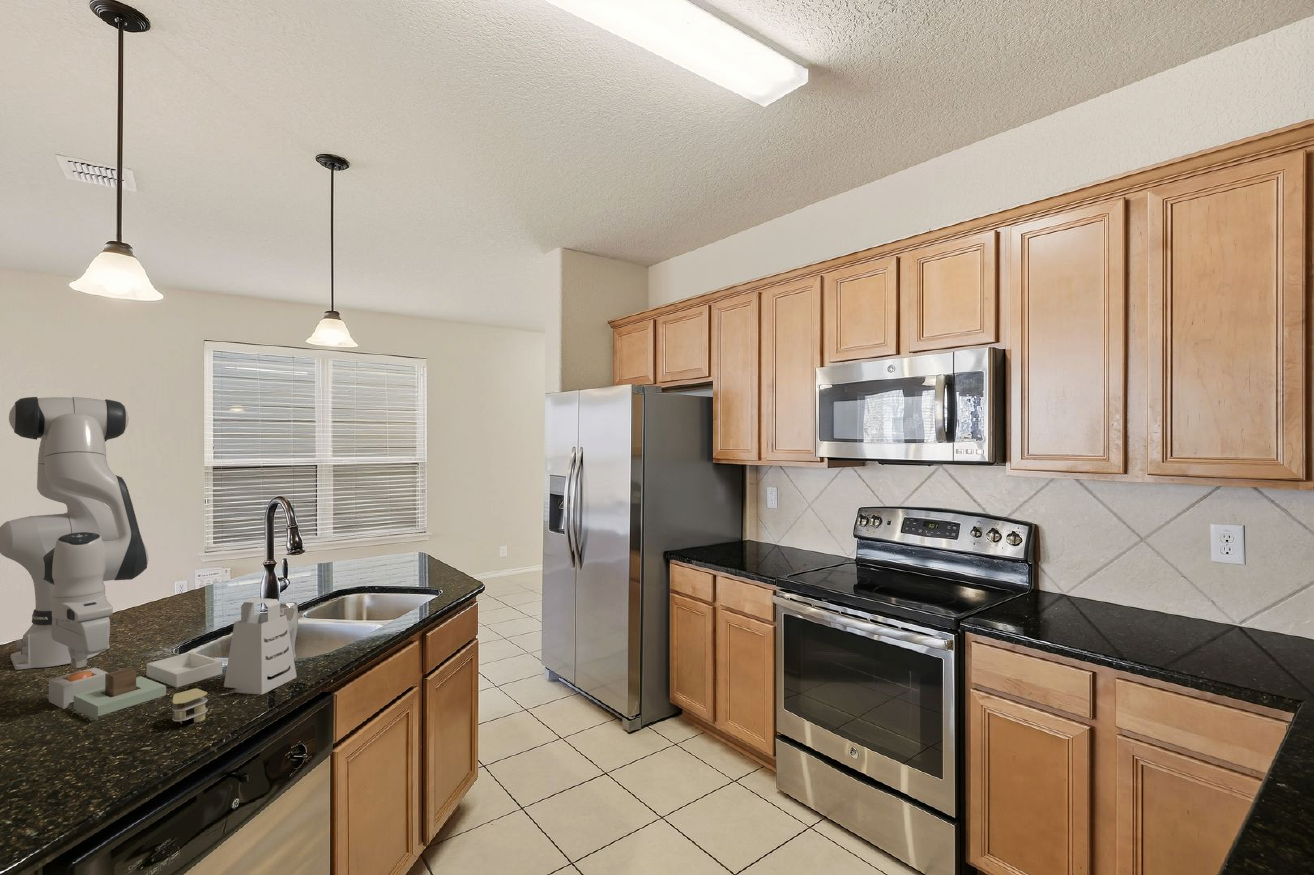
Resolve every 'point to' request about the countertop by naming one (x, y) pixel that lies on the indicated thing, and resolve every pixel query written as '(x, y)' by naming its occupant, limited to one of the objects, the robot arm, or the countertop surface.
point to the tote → (184, 669)
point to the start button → (79, 675)
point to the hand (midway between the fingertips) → (78, 665)
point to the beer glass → (290, 622)
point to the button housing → (73, 687)
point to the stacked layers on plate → (189, 705)
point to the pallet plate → (117, 698)
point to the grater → (259, 650)
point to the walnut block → (120, 682)
